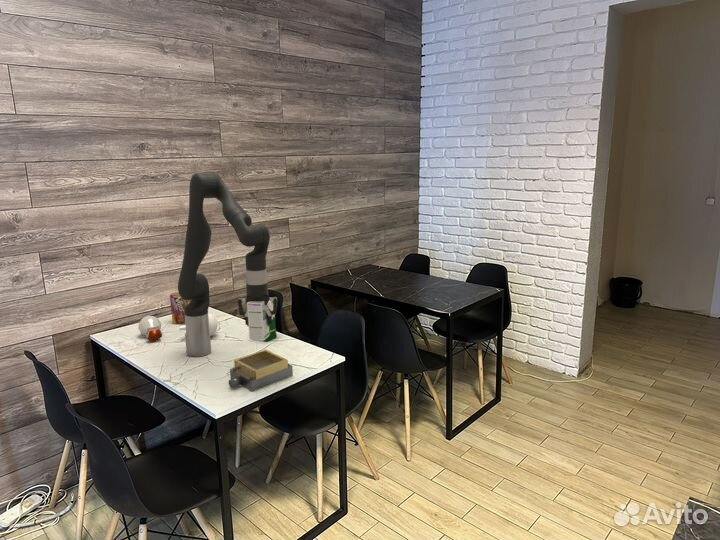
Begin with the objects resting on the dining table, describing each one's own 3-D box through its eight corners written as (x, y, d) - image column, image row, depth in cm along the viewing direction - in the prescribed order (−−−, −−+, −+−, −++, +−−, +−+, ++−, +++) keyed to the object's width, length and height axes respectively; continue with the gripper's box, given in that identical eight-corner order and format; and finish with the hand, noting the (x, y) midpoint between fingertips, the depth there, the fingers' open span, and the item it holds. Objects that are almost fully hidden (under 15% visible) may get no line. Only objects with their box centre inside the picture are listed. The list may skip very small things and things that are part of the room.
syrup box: (264, 341, 179) (262, 302, 176) (248, 340, 180) (246, 301, 177) (270, 335, 185) (268, 297, 181) (255, 334, 186) (253, 296, 182)
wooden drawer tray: (242, 395, 172) (240, 377, 171) (220, 382, 182) (219, 364, 180) (292, 375, 188) (292, 358, 186) (270, 364, 197) (269, 348, 196)
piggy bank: (222, 337, 230) (191, 338, 231) (221, 311, 231) (190, 313, 232) (211, 339, 217) (178, 340, 219) (210, 312, 218) (177, 313, 220)
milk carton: (264, 333, 231) (262, 291, 226) (279, 337, 226) (278, 294, 221) (251, 339, 223) (249, 296, 219) (266, 343, 219) (264, 299, 214)
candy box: (193, 321, 246) (191, 291, 242) (189, 324, 242) (187, 294, 238) (176, 321, 247) (173, 291, 243) (172, 324, 242) (169, 294, 239)
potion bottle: (151, 334, 233) (158, 348, 222) (132, 326, 227) (138, 340, 216) (162, 317, 234) (170, 330, 222) (143, 309, 228) (150, 322, 216)
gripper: (234, 284, 173) (237, 329, 177) (276, 283, 175) (278, 328, 179) (237, 279, 180) (240, 322, 184) (277, 278, 182) (279, 321, 186)
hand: (259, 325), depth 181 cm, fingers closed on syrup box, 6 cm apart
